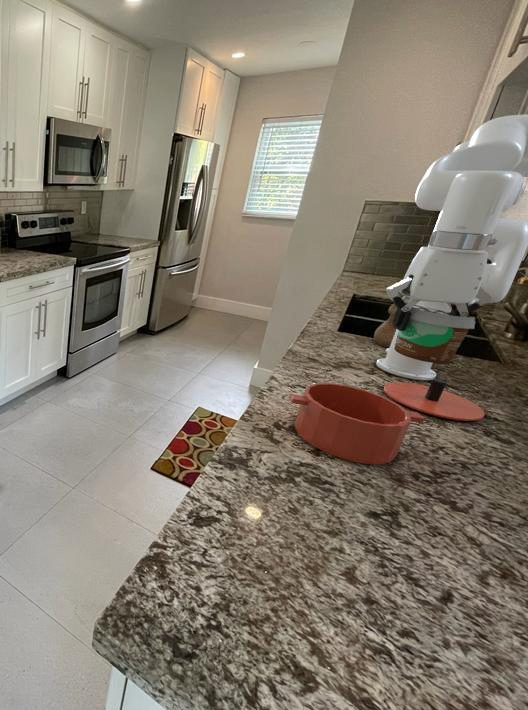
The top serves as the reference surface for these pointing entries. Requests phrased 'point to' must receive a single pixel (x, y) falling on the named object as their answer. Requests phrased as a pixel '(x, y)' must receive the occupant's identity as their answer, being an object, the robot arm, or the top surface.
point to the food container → (432, 335)
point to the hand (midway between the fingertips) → (421, 330)
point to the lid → (434, 400)
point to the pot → (352, 422)
